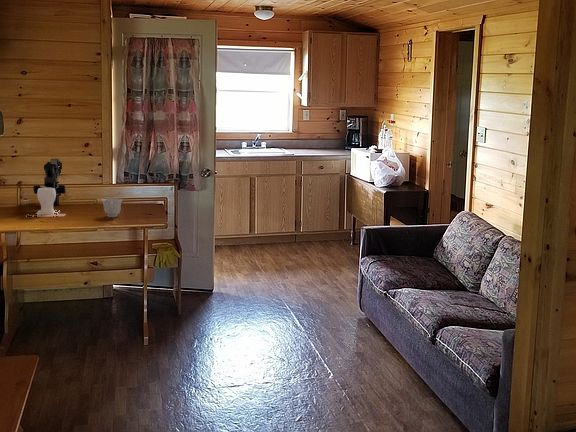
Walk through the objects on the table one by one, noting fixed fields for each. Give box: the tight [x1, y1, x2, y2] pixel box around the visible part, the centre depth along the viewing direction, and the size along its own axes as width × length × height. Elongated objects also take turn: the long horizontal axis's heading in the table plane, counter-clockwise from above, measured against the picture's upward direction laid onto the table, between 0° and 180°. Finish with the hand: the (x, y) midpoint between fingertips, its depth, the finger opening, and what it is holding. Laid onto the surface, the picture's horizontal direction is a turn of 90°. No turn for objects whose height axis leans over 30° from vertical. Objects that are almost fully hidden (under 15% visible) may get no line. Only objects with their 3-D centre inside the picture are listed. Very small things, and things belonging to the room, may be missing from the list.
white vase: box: [36, 187, 56, 214], centre depth 425 cm, size 11×11×15 cm
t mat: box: [25, 209, 67, 218], centre depth 427 cm, size 21×22×1 cm
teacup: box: [101, 197, 123, 218], centre depth 419 cm, size 12×15×10 cm
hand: (48, 200), depth 434 cm, fingers closed
